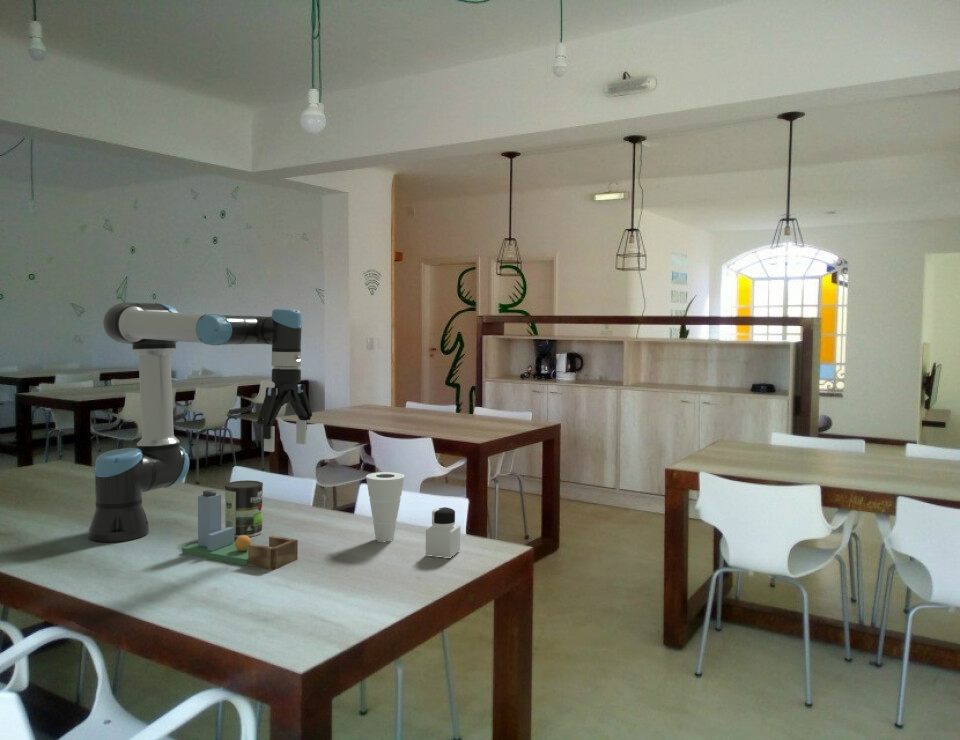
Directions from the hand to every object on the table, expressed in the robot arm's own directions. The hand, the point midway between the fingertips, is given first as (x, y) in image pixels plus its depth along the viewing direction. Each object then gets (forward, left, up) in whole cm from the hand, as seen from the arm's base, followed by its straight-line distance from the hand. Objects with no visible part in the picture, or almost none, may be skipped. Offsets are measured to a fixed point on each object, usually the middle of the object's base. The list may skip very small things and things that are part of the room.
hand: (285, 447), depth 195 cm
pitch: (-9, -12, -27) cm, 31 cm away
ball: (-4, -12, -23) cm, 26 cm away
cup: (+21, +17, -27) cm, 38 cm away
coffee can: (-18, +5, -27) cm, 33 cm away
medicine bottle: (+41, +13, -27) cm, 50 cm away
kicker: (-14, -12, -25) cm, 31 cm away
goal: (+6, -12, -27) cm, 30 cm away
